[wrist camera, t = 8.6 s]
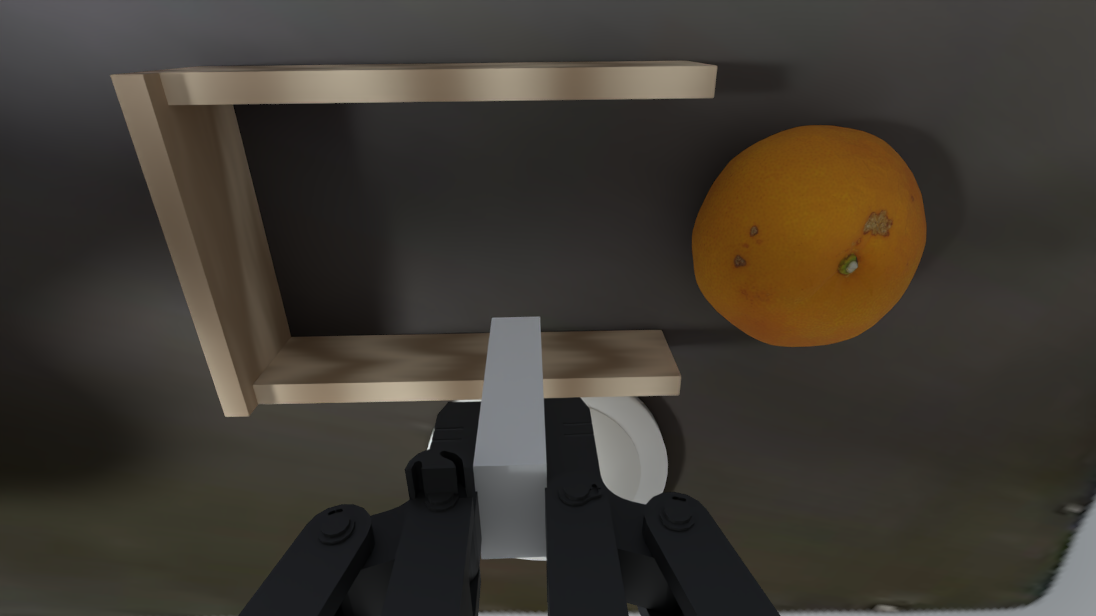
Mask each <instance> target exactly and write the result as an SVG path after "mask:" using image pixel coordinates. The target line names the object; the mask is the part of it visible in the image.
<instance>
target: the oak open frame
mask: <svg viewBox="0 0 1096 616" xmlns="http://www.w3.org/2000/svg"><path fill="white" fill-rule="evenodd" d="M716 74H717V66H715V65H710V64H704V63H698V62H692V61H604V62H521V63H439V64H356V65H274V66H197V67H187V68H176V69H166V70H155V71H145V72H134V73H124V74H113V75H110V76H111V79H112V82H113V85H114V88H115V91H116V94H117V97H118V100H119V102H120V105H121V108H122V111H123V114H124V117H125V120H126V123H127V126H128V129H129V132H130V135H131V138H132V141H133V144H134V147H135V150H136V153H137V156H138V159H139V162H140V165H141V168H142V171H143V174H144V177H145V180H146V183H147V186H148V189H149V192H150V195H151V198H152V200H153V203H154V206H155V209H156V212H157V215H158V218H159V221H160V224H161V227H162V230H163V233H164V236H165V239H166V242H167V245H168V248H169V251H170V254H171V257H172V260H173V263H174V266H175V269H176V272H177V275H178V278H179V281H180V284H181V287H182V290H183V293H184V296H185V298H186V301H187V304H188V307H189V310H190V313H191V316H192V319H193V322H194V325H195V328H196V331H197V334H198V337H199V340H200V343H201V346H202V349H203V352H204V355H205V358H206V361H207V364H208V367H209V370H210V373H211V376H212V379H213V382H214V385H215V388H216V391H217V394H218V396H219V399H220V402H221V405H222V408H223V411H224V414H225V417H236V416H250V415H251V413H252V412H253V411H254V409H255V408H256V407H257V405H258V404H295V403H342V402H389V401H436V400H482V392H483V384H484V376H485V368H486V360H487V352H488V344H489V336H490V333H465V334H414V335H363V336H311V337H291V334H290V330H289V326H288V322H287V318H286V314H285V310H284V306H283V302H282V298H281V294H280V290H279V286H278V282H277V278H276V274H275V270H274V266H273V262H272V258H271V254H270V250H269V246H268V242H267V238H266V234H265V230H264V226H263V222H262V218H261V214H260V210H259V206H258V202H257V198H256V194H255V190H254V186H253V182H252V178H251V174H250V170H249V166H248V162H247V158H246V154H245V150H244V146H243V142H242V138H241V134H240V130H239V126H238V122H237V118H236V114H235V110H234V106H233V104H297V103H373V102H449V101H525V100H601V99H676V98H714V92H715V83H716ZM541 349H542V372H543V395H544V398H570V397H623V396H670V395H679V392H680V383H681V374H680V372H679V370H678V367H677V365H676V363H675V360H674V358H673V356H672V353H671V351H670V349H669V346H668V344H667V342H666V339H665V337H664V335H663V332H662V330H619V331H568V332H541Z"/></svg>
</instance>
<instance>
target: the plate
mask: <svg viewBox="0 0 1096 616" xmlns="http://www.w3.org/2000/svg"><path fill="white" fill-rule="evenodd" d="M580 398H581V399H582V400H583V401H584V402H585V404H586V405H587V406H588V407H589V408H590V413H591V419H592V425H593V431H594V437H595V443H596V449H597V455H598V462H599V468H600V474H601V477H602V480H603V482H604V484H605V485H606V487H607V488H608V489H609V490H610V491H611V492H613V493H614V494H615V495H617V496H619V497H621V498H623V499H626V500H629V501H633V502H637V503H641V504H647V503H648V501H649V500H650V499H651V498H652V497H654V496H656V495H659V494H661V493H663V490H664V487H665V484H666V479H667V474H668V459H667V453H666V448H665V445H664V441H663V438H662V435H661V432H660V429H659V426H658V424H657V422H656V420H655V418H654V416H653V414H652V413H651V412H650V410H649V409H648V408H647V406H646V405H645V404H644V403H643V402H642V401H641V400H640V399H639V398H638V397H637V396H623V397H580ZM473 401H481V400H453V401H452V402H473ZM434 431H435V427H434V429H433V431H432V434H431V438H430V441H429V445H428V449H430V445H431V442H432V437H433V432H434ZM428 449H427V450H428ZM519 559H528V560H547V559H546V557H526V558H519Z"/></svg>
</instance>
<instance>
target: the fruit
mask: <svg viewBox="0 0 1096 616" xmlns="http://www.w3.org/2000/svg"><path fill="white" fill-rule="evenodd" d="M926 231H927V230H926V219H925V212H924V206H923V199H922V194H921V192H920V189H919V187H918V185H917V182H916V180H915V178H914V176H913V173H912V172H911V170H910V169H909V167H908V166H907V165H906V163H905V162H904V160H903V159H902V158H901V157H900V156H899V154H898V153H897V152H896V151H895V150H894V149H893V148H892V147H891V146H890V145H888V144H887V143H886V142H885V141H884V140H882V139H880V138H878V137H876V136H874V135H872V134H869V133H867V132H864V131H860V130H856V129H851V128H844V127H838V126H832V125H808V126H799V127H795V128H791V129H788V130H784V131H781V132H779V133H776V134H774V135H771V136H769V137H767V138H765V139H763V140H761V141H759V142H757V143H755V144H753V145H752V146H750V147H748V148H747V149H745V150H744V151H742V152H741V153H740V154H738V155H737V156H736V157H734V158H733V159H732V160H731V161H730V162H729V163H728V164H727V165H726V167H725V168H724V169H723V171H722V172H721V173H720V174H719V176H718V177H717V179H716V180H715V181H714V183H713V184H712V186H711V188H710V190H709V192H708V194H707V196H706V198H705V199H704V202H703V204H702V206H701V208H700V210H699V212H698V215H697V218H696V221H695V225H694V228H693V234H692V255H693V263H694V273H695V277H696V282H697V284H698V286H699V288H700V290H701V292H702V293H703V295H704V297H705V298H706V299H707V300H708V302H709V303H710V304H711V305H712V306H713V307H714V308H715V310H716V311H717V312H718V313H720V314H721V315H722V316H723V317H724V318H725V319H727V320H728V321H729V322H731V323H732V324H733V325H734V326H736V327H737V328H739V329H740V330H742V331H743V332H745V333H746V334H748V335H749V336H751V337H753V338H755V339H757V340H759V341H761V342H764V343H767V344H770V345H775V346H785V347H807V346H819V345H828V344H832V343H837V342H841V341H844V340H848V339H851V338H853V337H856V336H858V335H860V334H861V333H863V332H864V331H866V330H868V329H869V328H871V327H872V326H874V325H875V324H876V323H877V322H878V321H879V320H880V319H881V318H882V317H883V316H884V315H886V314H887V313H888V312H889V311H890V310H891V309H892V308H893V306H894V305H895V304H896V303H897V302H898V301H899V300H900V298H901V297H902V295H903V294H904V292H905V291H906V289H907V288H908V286H909V284H910V282H911V280H912V278H913V276H914V274H915V272H916V270H917V267H918V265H919V262H920V260H921V257H922V254H923V251H924V247H925V243H926Z"/></svg>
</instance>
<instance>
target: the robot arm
mask: <svg viewBox="0 0 1096 616" xmlns="http://www.w3.org/2000/svg"><path fill="white" fill-rule="evenodd" d="M405 473H406V479H407V485H408V491H409V497H410V500H409V501H407V502H406V503H404V504H403V505H401V506H399V507H397V508H394V509H392V510H389V511H386V512H382V513H379V514H375V515H372V516H370V515H369V514H368V512H367V511H366V510H365V509H364V508H362V507H359V506H356V505H354V504H344V505H338V506H334V507H331V508H328V509H326V510H324V511H323V512H321V513H319V514H317V515H316V516H315V517H314V518H313V519H312V520H311V521H310V522H309V523H308V524H307V525H306V526H305V527H304V529H303V530H302V531H301V533H300V534H299V535H298V537H297V538H296V539H295V541H294V542H293V543H292V545H291V546H290V547H289V549H288V550H287V551H286V553H285V554H284V555H283V557H282V558H281V559H280V561H279V562H278V563H277V565H276V566H275V567H274V569H273V570H272V571H271V573H270V574H269V575H268V577H267V578H266V579H265V581H264V582H263V584H262V585H261V586H260V588H259V589H258V590H257V592H256V593H255V594H254V596H253V597H252V598H251V600H250V601H249V602H248V604H247V605H246V606H245V608H244V609H243V610H242V612H241V613H240V614H239V616H478V610H479V598H480V586H481V578H480V567H479V564H480V553H481V558H482V559H498V558H526V557H546V559H547V602H548V616H629V615H628V609H627V603H630V604H634V605H637V606H638V610H639V612H640V614H641V616H780V615H779V613H778V612H777V610H776V609H775V607H774V606H773V604H772V603H771V602H770V600H769V599H768V597H767V596H766V594H765V593H764V591H763V590H762V589H761V587H760V586H759V584H758V583H757V581H756V580H755V578H754V577H753V576H752V574H751V573H750V571H749V570H748V568H747V567H746V566H745V564H744V563H743V561H742V560H741V558H740V557H739V555H738V554H737V553H736V551H735V550H734V548H733V547H732V545H731V544H730V542H729V541H728V540H727V538H726V537H725V535H724V534H723V532H722V531H721V529H720V528H719V527H718V525H717V524H716V522H715V521H714V519H713V518H712V516H711V515H710V514H709V512H708V511H707V509H706V508H705V507H704V506H703V505H702V504H701V503H700V502H699V501H697V500H696V499H694V498H692V497H690V496H688V495H685V494H681V493H676V492H668V493H661V494H659V495H656V496H654V497H652V498H651V499H650V500H649V501H648V503H647V504H641V503H637V502H633V501H629V500H626V499H623V498H621V497H619V496H617V495H615V494H614V493H613V492H611V491H610V490H609V489H608V488H607V487H606V485H605V484H604V482H603V480H602V477H601V474H600V468H599V462H598V455H597V449H596V443H595V437H594V431H593V425H592V419H591V413H590V408H589V407H588V406H587V405H586V404H585V402H584V401H583V400H582V399H581V398H580V397H570V398H544V395H543V372H542V349H541V326H540V317H501V318H492V320H491V328H490V336H489V344H488V352H487V360H486V368H485V376H484V384H483V392H482V400H481V401H473V402H448V403H447V404H446V406H445V407H444V408H443V409H442V410H441V411H440V412H439V414H438V416H437V420H436V424H435V431H434V432H433V437H432V442H431V445H430V449H428V450H425V451H423V452H421V453H419V454H417V455H416V456H415V457H414V458H412V459H411V460H410V461H409V463H408V465H407V467H406V468H405ZM626 602H627V603H626Z"/></svg>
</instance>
